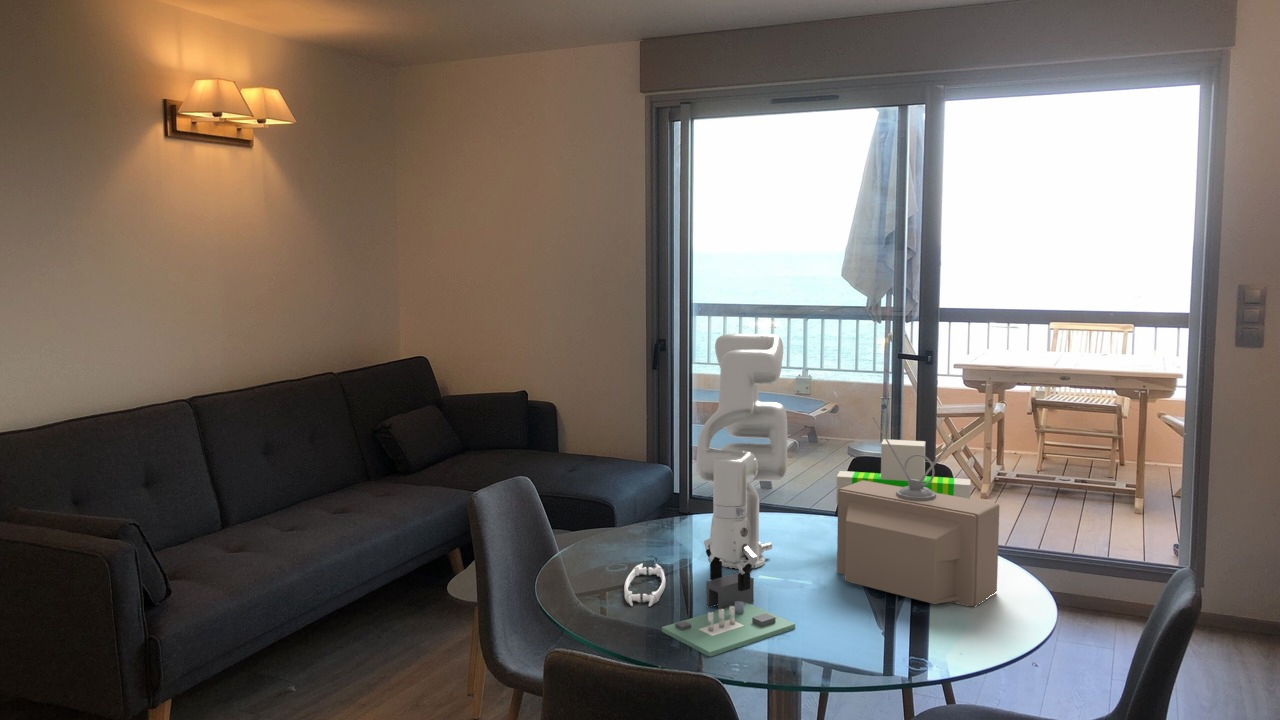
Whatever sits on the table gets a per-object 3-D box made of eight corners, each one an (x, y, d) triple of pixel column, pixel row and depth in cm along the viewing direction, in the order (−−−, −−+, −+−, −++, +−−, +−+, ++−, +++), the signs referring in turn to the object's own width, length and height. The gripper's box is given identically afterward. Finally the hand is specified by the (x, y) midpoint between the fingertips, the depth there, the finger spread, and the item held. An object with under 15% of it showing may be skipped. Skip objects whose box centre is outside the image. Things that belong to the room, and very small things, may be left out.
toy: (968, 554, 250) (971, 443, 246) (968, 561, 243) (971, 448, 240) (839, 542, 261) (840, 436, 258) (835, 549, 254) (837, 441, 251)
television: (999, 592, 221) (1004, 426, 217) (962, 617, 207) (966, 439, 202) (863, 560, 246) (865, 410, 242) (821, 580, 231) (823, 421, 227)
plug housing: (739, 597, 220) (739, 572, 220) (753, 603, 216) (753, 578, 216) (706, 606, 215) (706, 581, 214) (720, 613, 211) (720, 587, 210)
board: (745, 606, 214) (745, 592, 214) (795, 628, 201) (795, 613, 201) (661, 631, 200) (661, 616, 200) (709, 656, 187) (709, 640, 187)
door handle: (668, 572, 239) (662, 608, 214) (630, 571, 240) (619, 607, 215) (668, 562, 239) (662, 597, 214) (630, 561, 240) (619, 596, 215)
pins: (732, 622, 202) (732, 605, 202) (736, 624, 201) (736, 606, 201) (706, 630, 198) (706, 612, 197) (710, 632, 197) (710, 614, 196)
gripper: (768, 516, 208) (767, 591, 209) (717, 501, 222) (717, 572, 223) (743, 521, 204) (742, 597, 205) (693, 506, 218) (693, 578, 219)
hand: (729, 584), depth 214 cm, fingers open, 9 cm apart
